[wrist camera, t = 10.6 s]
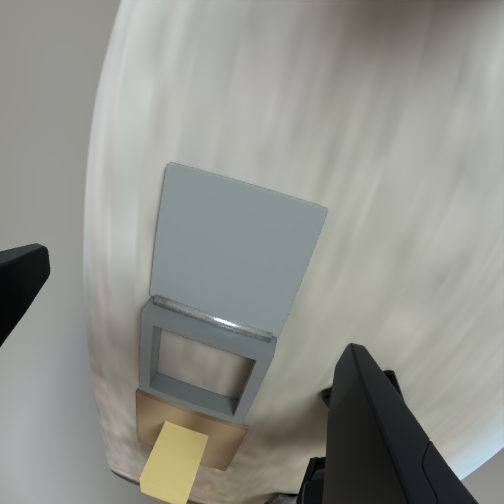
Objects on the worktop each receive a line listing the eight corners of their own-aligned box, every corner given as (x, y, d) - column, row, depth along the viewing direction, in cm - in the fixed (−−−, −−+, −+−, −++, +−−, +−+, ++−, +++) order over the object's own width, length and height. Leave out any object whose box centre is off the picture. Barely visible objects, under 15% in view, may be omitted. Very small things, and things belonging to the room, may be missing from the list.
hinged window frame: (327, 208, 19) (329, 219, 17) (245, 408, 28) (241, 425, 27) (171, 162, 19) (156, 168, 18) (147, 374, 29) (139, 389, 27)
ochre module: (208, 435, 31) (188, 496, 24) (202, 453, 33) (184, 507, 26) (165, 420, 31) (139, 478, 24) (163, 439, 33) (141, 491, 26)
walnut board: (248, 426, 30) (247, 431, 29) (226, 467, 35) (225, 471, 35) (138, 388, 30) (136, 392, 30) (139, 437, 36) (138, 440, 35)
